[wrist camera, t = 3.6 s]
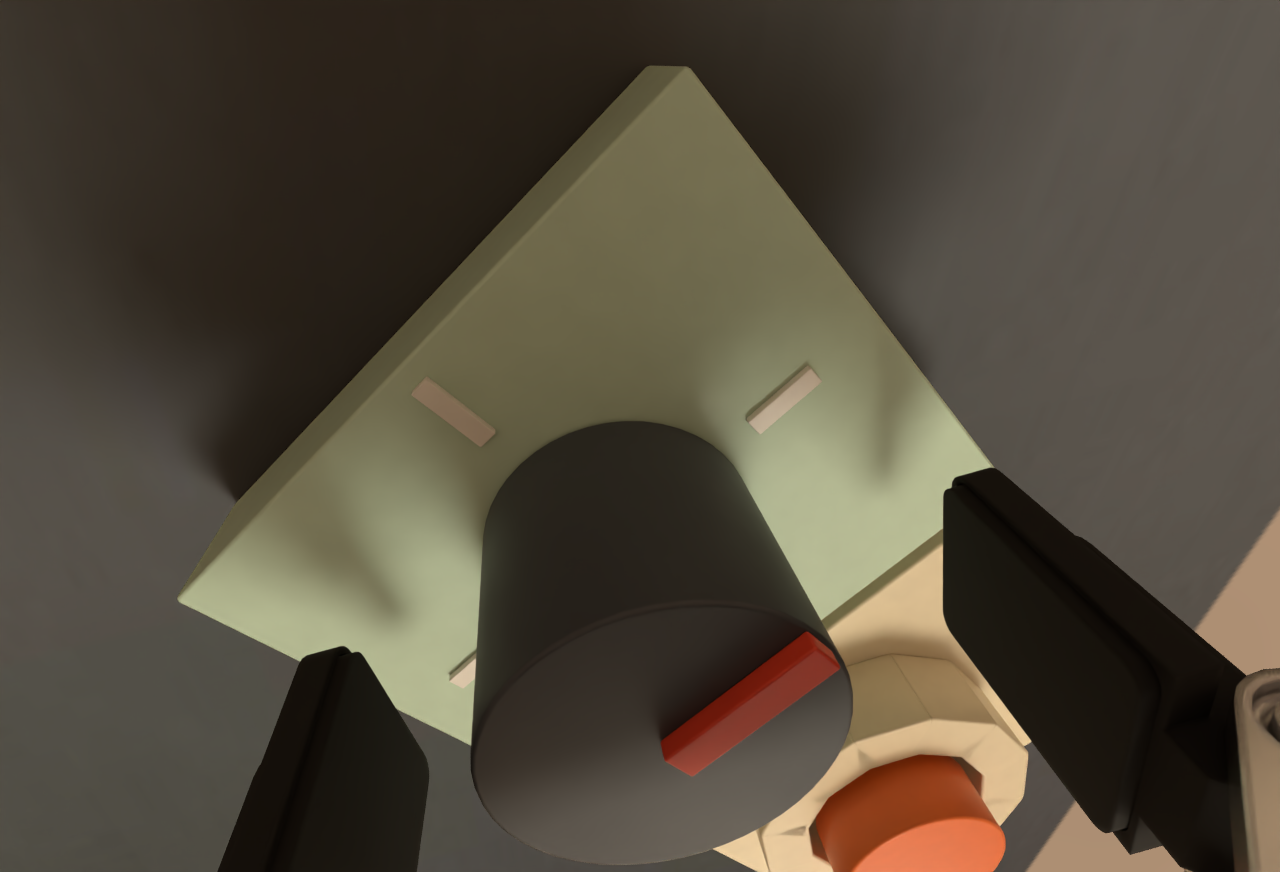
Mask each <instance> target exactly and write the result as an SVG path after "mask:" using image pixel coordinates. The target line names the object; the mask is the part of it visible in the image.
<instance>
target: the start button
mask: <svg viewBox="0 0 1280 872" xmlns="http://www.w3.org/2000/svg"><path fill="white" fill-rule="evenodd" d="M816 828H817V832H818V834H819V837H820V839H821V842H822V844H823V847H824V849H825V852H826V854H827V857H828V859H829V862H830V864H831V867H832V869H833V872H993V871H994V870H995V868H996V867H997V866H998V864H999V862H1000V861H1001V859H1002V857H1003V854H1004V851H1005V847H1006V842H1005V836H1004V833H1003V831H1002V829H1001V828H1000V826H999V825H998V823H997V822H996V820H995V818H994V817H993V815H992V814H991V812H990V811H989V809H988V807H987V806H986V804H985V803H984V801H983V800H982V798H981V797H980V795H979V793H978V792H977V790H976V789H975V787H974V786H973V784H972V782H971V781H970V779H969V778H968V776H967V775H966V773H965V772H964V770H963V768H962V767H961V765H960V764H959V763H958V762H957V761H956V760H954V759H953V758H951V757H950V756H939V755H924V754H918V755H915V756H912V757H908V758H905V759H902V760H899V761H895V762H892V763H889V764H885V765H882V766H879V767H875V768H872V769H870V770H868V771H867V772H865V773H864V774H862V775H861V776H859V777H858V778H856V779H855V780H854V781H852V782H851V783H849V784H848V785H846V786H845V787H843V788H842V789H840V790H839V791H837V792H836V793H834V794H833V795H831V796H830V797H829V798H828V799H827V801H826V802H825V804H824V805H823V807H822V808H821V810H820V811H819V813H818V815H817V816H816Z"/></svg>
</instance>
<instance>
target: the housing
mask: <svg viewBox="0 0 1280 872" xmlns="http://www.w3.org/2000/svg"><path fill="white" fill-rule="evenodd" d="M821 621H822V623H823V625H824V627H825V628H826V630H827V632H828V634H829V636H830V637H831V639H832V641H833V643H834V645H835V646H836V648H837V650H838V652H839V654H840V655H841V657H842V659H843V661H844V663H845V666H846V668H847V670H848V673H849V675H850V680H851V685H852V690H853V714H852V720H851V725H850V729H849V732H848V735H847V738H846V740H845V743H844V745H843V747H842V749H841V751H840V753H839V755H838V756H837V758H836V760H835V761H834V763H833V764H832V766H831V767H830V769H829V770H828V771H827V773H826V774H825V775H824V777H823V778H822V779H821V780H820V781H819V782H818V783H817V784H816V785H815V787H814V788H813V789H812V790H811V791H810V792H808V793H807V794H806V795H805V796H804V797H803V798H802V799H801V800H800V801H799V802H797V803H796V804H795V805H794V806H792V807H791V808H790V809H788V810H787V811H786V812H784V813H783V814H782V815H780V816H779V817H777V818H775V819H774V820H772V821H771V822H769V823H767V824H766V825H764V826H763V827H761V828H759V829H757V830H755V831H753V832H751V833H749V834H747V835H745V836H743V837H741V838H739V839H736V840H734V841H732V842H729V843H727V844H725V845H722V846H719V847H716V848H713V849H714V850H716V851H718V852H720V853H722V854H724V855H726V856H728V857H730V858H732V859H734V860H736V861H738V862H740V863H742V864H744V865H745V866H747V867H749V868H751V869H753V870H755V871H757V872H833V869H832V867H831V864H830V862H829V859H828V857H827V854H826V852H825V849H824V847H823V844H822V842H821V839H820V837H819V834H818V832H817V828H816V816H817V815H818V813H819V811H820V810H821V808H822V807H823V805H824V804H825V802H826V801H827V799H828V798H829V797H830V796H831V795H833V794H834V793H836V792H837V791H839V790H840V789H842V788H843V787H845V786H846V785H848V784H849V783H851V782H852V781H854V780H855V779H856V778H858V777H859V776H861V775H862V774H864V773H865V772H867V771H868V770H870V769H872V768H875V767H879V766H882V765H885V764H889V763H892V762H895V761H899V760H902V759H905V758H908V757H912V756H915V755H918V754H924V755H939V756H950V757H951V758H953V759H954V760H956V761H957V762H958V763H959V764H960V765H961V767H962V768H963V770H964V772H965V773H966V775H967V776H968V778H969V779H970V781H971V782H972V784H973V786H974V787H975V789H976V790H977V792H978V793H979V795H980V797H981V798H982V800H983V801H984V803H985V804H986V806H987V807H988V809H989V811H990V812H991V814H992V815H993V817H994V818H995V820H996V822H997V823H998V825H999V826H1000V825H1001V824H1002V823H1003V822H1004V820H1005V819H1006V818H1007V817H1008V816H1009V814H1010V813H1011V812H1012V811H1013V810H1014V808H1015V807H1016V806H1017V805H1018V803H1019V802H1020V801H1021V800H1022V798H1023V797H1022V796H1023V795H1024V788H1025V780H1026V771H1027V762H1028V751H1027V750H1026V749H1025V747H1024V746H1025V745H1027V744H1028V743H1030V742H1031V740H1030V739H1029V737H1028V736H1027V735H1026V733H1025V732H1024V731H1023V729H1022V728H1021V727H1020V725H1019V724H1018V723H1017V721H1016V720H1015V719H1014V717H1013V716H1012V715H1011V713H1010V712H1009V711H1008V709H1007V708H1006V706H1005V705H1004V704H1003V702H1002V701H1001V700H1000V698H999V697H998V696H997V694H996V693H995V692H994V690H993V689H992V688H991V686H990V685H989V684H988V682H987V681H986V680H985V678H984V677H983V676H982V674H981V673H980V672H979V670H978V669H977V668H976V666H975V665H974V664H973V662H972V661H971V660H970V658H969V657H968V656H967V654H966V653H965V652H964V650H963V649H962V648H961V646H960V645H959V644H958V642H957V641H956V640H955V638H954V637H953V636H952V634H951V633H950V631H949V629H948V627H947V625H946V622H945V620H944V616H943V529H941V530H940V531H939V532H937V533H936V534H935V535H933V536H932V537H931V538H929V539H928V540H927V541H925V542H924V543H923V544H921V545H920V546H919V547H917V548H916V549H915V550H913V551H912V552H911V553H910V554H908V555H907V556H906V557H904V558H903V559H902V560H900V561H899V562H898V563H896V564H895V565H894V566H892V567H891V568H890V569H888V570H887V571H886V572H884V573H883V574H882V575H880V576H879V577H878V578H876V579H875V580H874V581H873V582H871V583H870V584H869V585H867V586H866V587H865V588H863V589H862V590H861V591H859V592H858V593H857V594H855V595H854V596H853V597H851V598H850V599H849V600H847V601H846V602H845V603H843V604H842V605H841V606H839V607H838V608H837V609H835V610H834V611H833V612H832V613H830V614H829V615H828V616H826V617H825V618H824V619H822V620H821Z"/></svg>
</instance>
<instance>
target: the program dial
mask: <svg viewBox="0 0 1280 872" xmlns="http://www.w3.org/2000/svg"><path fill="white" fill-rule="evenodd" d="M852 714H853V690H852V685H851V680H850V675H849V673H848V670H847V668H846V666H845V663H844V661H843V659H842V657H841V655H840V654H839V652H838V650H837V648H836V646H835V645H834V643H833V641H832V639H831V637H830V636H829V634H828V632H827V630H826V628H825V627H824V625H823V623H822V621H821V619H820V618H819V616H818V614H817V612H816V610H815V609H814V607H813V605H812V603H811V601H810V600H809V598H808V596H807V594H806V592H805V591H804V589H803V587H802V585H801V583H800V582H799V580H798V578H797V576H796V574H795V573H794V571H793V569H792V567H791V565H790V564H789V562H788V560H787V558H786V556H785V555H784V553H783V551H782V549H781V547H780V546H779V544H778V542H777V540H776V538H775V537H774V535H773V533H772V531H771V530H770V528H769V526H768V524H767V522H766V521H765V519H764V517H763V515H762V513H761V512H760V510H759V508H758V506H757V504H756V503H755V501H754V499H753V497H752V495H751V494H750V492H749V490H748V488H747V486H746V485H745V483H744V481H743V479H742V477H741V476H740V474H739V473H738V471H737V470H736V468H735V467H734V465H733V464H732V463H731V462H730V461H729V460H728V459H727V458H726V456H725V455H724V454H723V453H721V452H720V451H719V450H718V449H716V448H715V447H714V446H713V445H712V444H710V443H708V442H707V441H705V440H703V439H702V438H700V437H698V436H696V435H694V434H692V433H689V432H687V431H684V430H682V429H679V428H676V427H672V426H668V425H665V424H659V423H652V422H645V421H620V422H610V423H603V424H599V425H594V426H590V427H586V428H583V429H580V430H577V431H574V432H571V433H568V434H566V435H564V436H562V437H560V438H558V439H556V440H554V441H552V442H550V443H548V444H547V445H545V446H544V447H542V448H541V449H539V450H537V451H536V452H534V453H533V454H532V455H531V456H530V457H528V458H527V459H526V460H525V461H524V462H522V463H521V464H520V465H519V466H518V467H517V468H516V469H515V470H514V472H513V473H512V474H511V475H510V476H509V477H508V478H507V480H506V481H505V482H504V484H503V485H502V487H501V488H500V489H499V491H498V493H497V495H496V497H495V499H494V500H493V502H492V504H491V506H490V509H489V512H488V515H487V519H486V522H485V528H484V534H483V547H482V564H481V582H480V599H479V616H478V633H477V651H476V668H475V685H474V702H473V720H472V737H471V773H472V778H473V782H474V787H475V789H476V791H477V793H478V796H479V798H480V800H481V802H482V804H483V806H484V808H485V809H486V810H487V812H488V813H489V814H490V816H491V817H492V819H493V820H494V821H495V822H496V823H497V824H498V825H499V826H501V827H502V828H503V829H504V830H505V831H506V832H507V833H509V834H510V835H512V836H513V837H514V838H516V839H517V840H519V841H520V842H522V843H524V844H526V845H528V846H530V847H532V848H534V849H536V850H539V851H541V852H544V853H547V854H550V855H553V856H556V857H560V858H564V859H568V860H572V861H578V862H585V863H592V864H606V865H632V864H645V863H654V862H662V861H667V860H672V859H678V858H683V857H686V856H690V855H694V854H698V853H701V852H705V851H708V850H710V849H713V848H716V847H719V846H722V845H725V844H727V843H729V842H732V841H734V840H736V839H739V838H741V837H743V836H745V835H747V834H749V833H751V832H753V831H755V830H757V829H759V828H761V827H763V826H764V825H766V824H767V823H769V822H771V821H772V820H774V819H775V818H777V817H779V816H780V815H782V814H783V813H784V812H786V811H787V810H788V809H790V808H791V807H792V806H794V805H795V804H796V803H797V802H799V801H800V800H801V799H802V798H803V797H804V796H805V795H806V794H807V793H808V792H810V791H811V790H812V789H813V788H814V787H815V785H816V784H817V783H818V782H819V781H820V780H821V779H822V778H823V777H824V775H825V774H826V773H827V771H828V770H829V769H830V767H831V766H832V764H833V763H834V761H835V760H836V758H837V756H838V755H839V753H840V751H841V749H842V747H843V745H844V743H845V740H846V738H847V735H848V732H849V729H850V725H851V720H852Z"/></svg>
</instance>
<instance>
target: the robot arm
mask: <svg viewBox="0 0 1280 872" xmlns="http://www.w3.org/2000/svg"><path fill="white" fill-rule="evenodd" d="M943 616H944V620H945V622H946V625H947V627H948V629H949V631H950V633H951V634H952V636H953V637H954V638H955V640H956V641H957V642H958V644H959V645H960V646H961V648H962V649H963V650H964V652H965V653H966V654H967V656H968V657H969V658H970V660H971V661H972V662H973V664H974V665H975V666H976V668H977V669H978V670H979V672H980V673H981V674H982V676H983V677H984V678H985V680H986V681H987V682H988V684H989V685H990V686H991V688H992V689H993V690H994V692H995V693H996V694H997V696H998V697H999V698H1000V700H1001V701H1002V702H1003V704H1004V705H1005V706H1006V708H1007V709H1008V711H1009V712H1010V713H1011V715H1012V716H1013V717H1014V719H1015V720H1016V721H1017V723H1018V724H1019V725H1020V727H1021V728H1022V729H1023V731H1024V732H1025V733H1026V735H1027V736H1028V737H1029V739H1030V740H1031V741H1032V743H1033V744H1034V745H1035V747H1036V748H1037V749H1038V751H1039V752H1040V753H1041V755H1042V756H1043V757H1044V759H1045V760H1046V761H1047V763H1048V764H1049V765H1050V767H1051V768H1052V769H1053V771H1054V772H1055V773H1056V775H1057V776H1058V777H1059V779H1060V780H1061V781H1062V783H1063V784H1064V785H1065V787H1066V788H1067V789H1068V791H1069V792H1070V793H1071V795H1072V796H1073V797H1074V799H1075V800H1076V801H1077V803H1078V804H1079V805H1080V807H1081V808H1082V809H1083V811H1084V812H1085V813H1086V815H1087V816H1088V817H1089V819H1090V820H1091V821H1092V822H1093V824H1094V825H1095V826H1096V827H1097V828H1098V829H1099V830H1101V831H1102V832H1104V833H1110V832H1113V833H1114V834H1115V836H1116V837H1117V838H1118V840H1119V841H1120V842H1121V844H1122V845H1123V846H1124V847H1125V849H1126V850H1127V851H1128V853H1129V854H1130V855H1131V854H1135V853H1138V852H1142V851H1145V850H1149V849H1152V848H1156V847H1159V846H1164V847H1165V849H1166V850H1167V851H1168V853H1169V854H1170V855H1171V856H1172V857H1173V858H1174V860H1175V861H1176V862H1177V864H1178V865H1179V866H1180V867H1182V868H1184V872H1280V668H1276V669H1263V670H1260V671H1258V672H1255V673H1252V674H1250V675H1247V676H1246V675H1245V674H1244V673H1243V672H1242V671H1240V670H1239V669H1238V668H1237V667H1236V666H1235V665H1233V664H1232V663H1231V662H1230V661H1229V660H1227V659H1226V658H1225V657H1224V656H1223V655H1222V654H1220V653H1219V652H1218V651H1217V650H1216V649H1214V648H1213V647H1212V646H1211V645H1210V644H1208V643H1207V642H1206V641H1205V640H1204V639H1203V638H1202V637H1200V636H1199V635H1198V634H1197V633H1196V632H1194V631H1193V630H1192V629H1191V628H1190V627H1189V626H1187V625H1186V624H1185V623H1184V622H1183V621H1181V620H1180V619H1179V618H1178V617H1177V616H1176V615H1174V614H1173V613H1172V612H1171V611H1170V610H1168V609H1167V608H1166V607H1165V606H1164V605H1163V604H1161V603H1160V602H1159V601H1158V600H1157V599H1155V598H1154V597H1153V596H1152V595H1151V594H1150V593H1148V592H1147V591H1146V590H1145V589H1144V588H1143V587H1141V586H1140V585H1139V584H1138V583H1137V582H1135V581H1134V580H1133V579H1132V578H1131V577H1130V576H1128V575H1127V574H1126V573H1125V572H1124V571H1122V570H1121V569H1120V568H1119V567H1118V566H1117V565H1115V564H1114V563H1113V562H1112V561H1111V560H1109V559H1108V558H1107V557H1106V556H1105V555H1104V554H1102V553H1101V552H1100V551H1099V550H1098V549H1097V548H1095V547H1094V546H1093V545H1092V544H1090V543H1089V542H1087V541H1086V540H1084V539H1083V538H1081V537H1078V536H1075V535H1074V534H1073V533H1071V532H1070V531H1069V530H1068V529H1067V528H1066V527H1064V526H1063V525H1062V524H1061V523H1060V522H1059V521H1057V520H1056V519H1055V518H1054V517H1053V516H1052V515H1050V514H1049V513H1048V512H1047V511H1046V510H1045V509H1043V508H1042V507H1041V506H1040V505H1039V504H1038V503H1036V502H1035V501H1034V500H1033V499H1032V498H1031V497H1029V496H1028V495H1027V494H1026V493H1025V492H1024V491H1022V490H1021V489H1020V488H1019V487H1018V486H1017V485H1015V484H1014V483H1013V482H1012V481H1011V480H1010V479H1008V478H1007V477H1006V476H1005V475H1004V474H1003V473H1001V472H1000V471H999V470H997V469H996V468H991V467H990V468H986V469H983V470H979V471H975V472H972V473H968V474H964V475H961V476H957V477H955V478H954V480H953V481H952V487H951V488H949V489H946V490H945V491H944V494H943ZM428 784H429V768H428V763H427V759H426V757H425V755H424V753H423V751H422V750H421V748H420V747H419V745H418V743H417V742H416V740H415V738H414V737H413V735H412V734H411V732H410V730H409V729H408V727H407V725H406V724H405V722H404V721H403V719H402V717H401V716H400V714H399V712H398V711H397V709H396V708H395V706H394V704H393V703H392V701H391V700H390V698H389V696H388V695H387V693H386V691H385V690H384V688H383V687H382V685H381V683H380V682H379V680H378V678H377V677H376V675H375V674H374V672H373V670H372V669H371V667H370V666H369V664H368V662H367V661H366V659H365V657H364V656H363V655H362V654H361V653H360V652H353V653H352V652H351V651H350V650H349V649H348V648H347V647H345V646H339V647H335V648H332V649H328V650H324V651H321V652H317V653H313V654H310V655H306V656H305V657H304V658H302V660H301V661H300V663H299V665H298V668H297V671H296V673H295V676H294V678H293V681H292V684H291V686H290V689H289V692H288V694H287V697H286V700H285V702H284V705H283V708H282V710H281V713H280V715H279V718H278V721H277V723H276V726H275V729H274V731H273V734H272V737H271V739H270V742H269V745H268V747H267V750H266V752H265V755H264V758H263V760H262V763H261V765H260V766H259V768H258V770H257V772H256V773H255V775H254V777H253V780H252V783H251V785H250V788H249V791H248V793H247V796H246V798H245V801H244V804H243V806H242V809H241V812H240V814H239V817H238V819H237V822H236V825H235V827H234V830H233V832H232V835H231V838H230V840H229V843H228V846H227V848H226V851H225V853H224V856H223V859H222V861H221V864H220V867H219V869H218V872H417V865H418V858H419V850H420V843H421V835H422V828H423V821H424V813H425V806H426V799H427V791H428Z"/></svg>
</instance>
